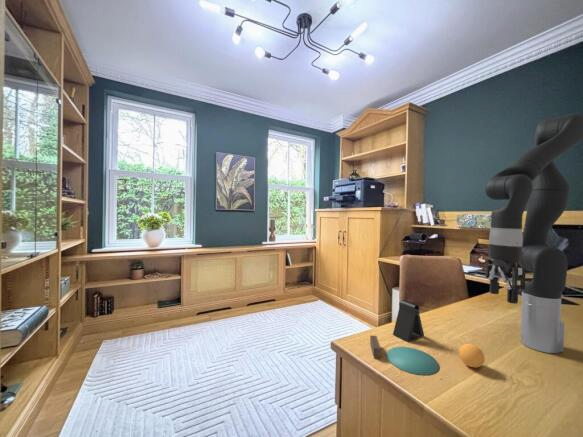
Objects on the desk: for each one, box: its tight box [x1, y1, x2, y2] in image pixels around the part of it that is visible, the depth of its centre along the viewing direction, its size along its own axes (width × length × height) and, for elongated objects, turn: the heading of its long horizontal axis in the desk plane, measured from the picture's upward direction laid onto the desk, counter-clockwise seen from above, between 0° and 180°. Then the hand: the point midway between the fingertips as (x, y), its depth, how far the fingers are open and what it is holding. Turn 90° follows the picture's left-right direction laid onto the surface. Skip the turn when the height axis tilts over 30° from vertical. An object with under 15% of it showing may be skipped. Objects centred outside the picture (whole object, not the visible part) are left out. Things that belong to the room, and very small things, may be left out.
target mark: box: [386, 346, 440, 376], centre depth 75 cm, size 14×14×1 cm
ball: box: [458, 343, 485, 369], centre depth 72 cm, size 6×6×6 cm
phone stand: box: [392, 299, 425, 343], centre depth 90 cm, size 9×6×12 cm, turn 118°
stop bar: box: [369, 335, 382, 359], centre depth 80 cm, size 2×8×3 cm, turn 170°
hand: (502, 298), depth 75 cm, fingers open, 8 cm apart
